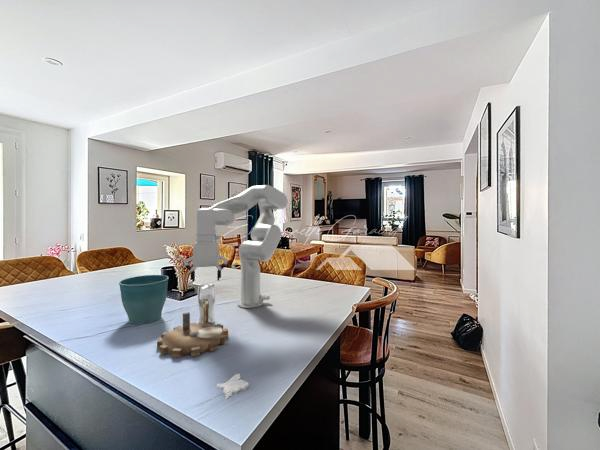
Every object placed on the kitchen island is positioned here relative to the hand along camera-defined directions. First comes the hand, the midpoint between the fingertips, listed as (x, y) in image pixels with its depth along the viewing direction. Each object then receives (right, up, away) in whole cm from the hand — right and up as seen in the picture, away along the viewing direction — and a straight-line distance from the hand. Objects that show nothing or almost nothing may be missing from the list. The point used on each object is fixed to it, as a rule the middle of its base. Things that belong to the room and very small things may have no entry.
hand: (206, 280), depth 111 cm
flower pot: (-27, -17, +3) cm, 32 cm away
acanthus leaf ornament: (+21, -19, -42) cm, 51 cm away
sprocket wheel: (+2, -18, -17) cm, 25 cm away
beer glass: (0, -18, +1) cm, 18 cm away
